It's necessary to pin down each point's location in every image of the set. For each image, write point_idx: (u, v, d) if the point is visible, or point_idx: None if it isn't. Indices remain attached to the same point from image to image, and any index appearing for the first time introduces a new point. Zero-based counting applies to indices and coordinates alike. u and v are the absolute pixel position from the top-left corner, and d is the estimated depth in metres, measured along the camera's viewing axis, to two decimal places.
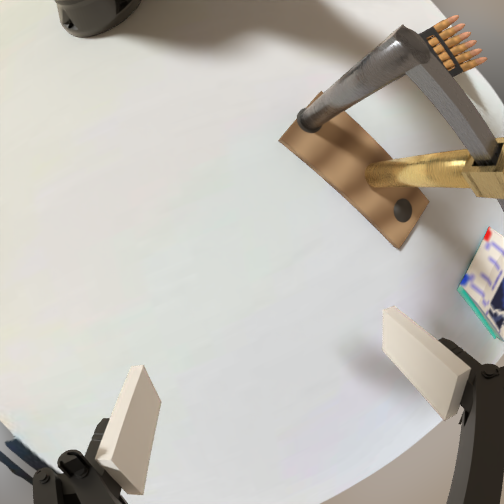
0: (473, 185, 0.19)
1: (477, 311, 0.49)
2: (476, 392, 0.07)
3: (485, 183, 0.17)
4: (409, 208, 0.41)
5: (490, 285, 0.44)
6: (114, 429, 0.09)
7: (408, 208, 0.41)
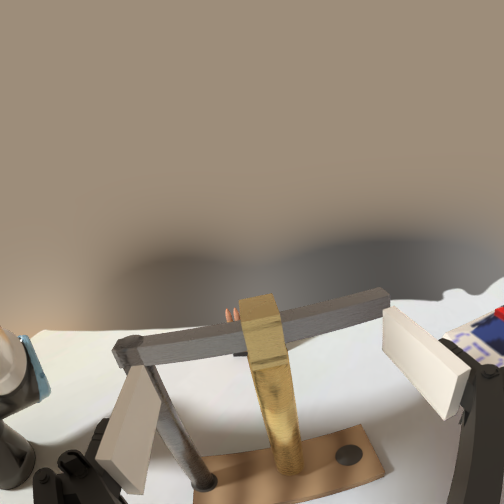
0: (270, 362, 0.23)
1: None
2: (476, 392, 0.07)
3: (262, 346, 0.22)
4: (351, 447, 0.32)
5: (483, 358, 0.35)
6: (114, 429, 0.09)
7: (350, 448, 0.32)
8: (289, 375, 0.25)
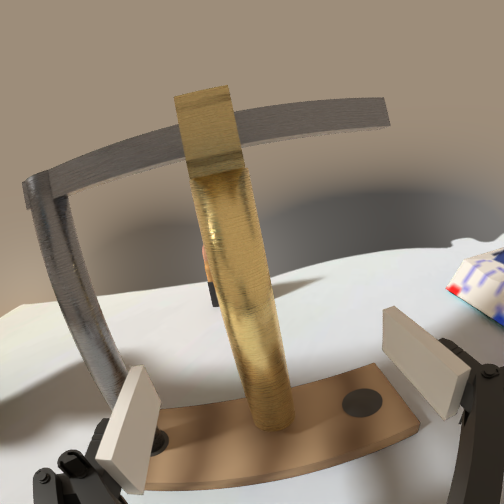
0: (216, 163, 0.15)
1: None
2: (476, 392, 0.07)
3: (204, 134, 0.15)
4: (365, 392, 0.24)
5: None
6: (114, 429, 0.09)
7: (364, 394, 0.24)
8: (253, 207, 0.17)
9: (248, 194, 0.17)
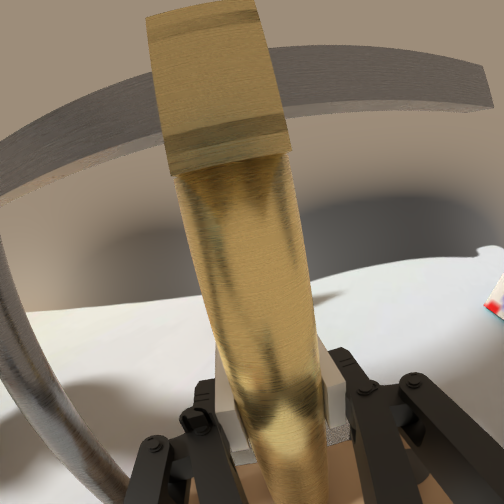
0: (229, 140, 0.07)
1: None
2: (355, 412, 0.08)
3: (203, 80, 0.06)
4: (410, 453, 0.15)
5: None
6: (225, 384, 0.11)
7: (409, 456, 0.15)
8: (299, 234, 0.09)
9: (292, 208, 0.08)
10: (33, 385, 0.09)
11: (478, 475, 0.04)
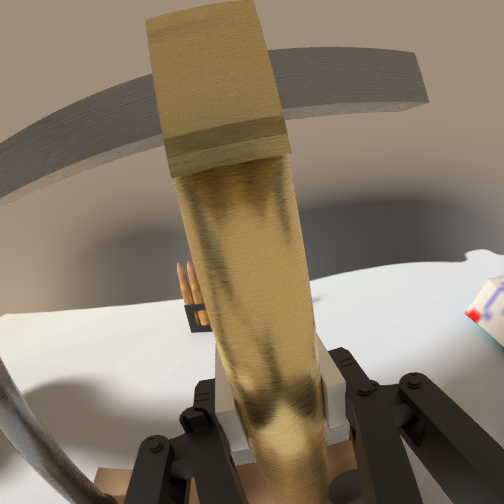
0: (229, 142, 0.07)
1: None
2: (355, 412, 0.08)
3: (204, 82, 0.06)
4: None
5: None
6: (225, 384, 0.11)
7: (358, 477, 0.15)
8: (299, 235, 0.09)
9: (291, 209, 0.08)
10: None
11: (477, 475, 0.04)
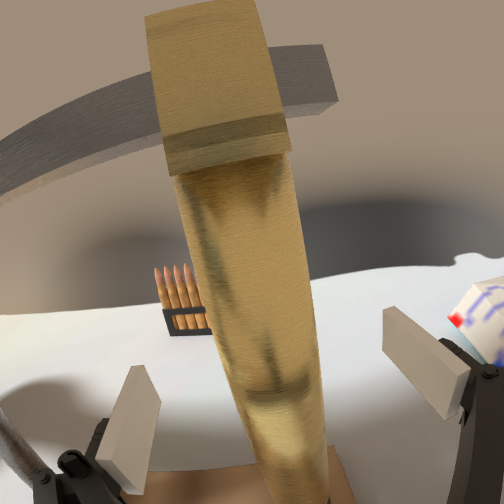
0: (228, 140, 0.07)
1: None
2: (476, 392, 0.07)
3: (203, 80, 0.06)
4: None
5: None
6: (114, 429, 0.09)
7: None
8: (299, 234, 0.09)
9: (292, 208, 0.08)
10: None
11: None
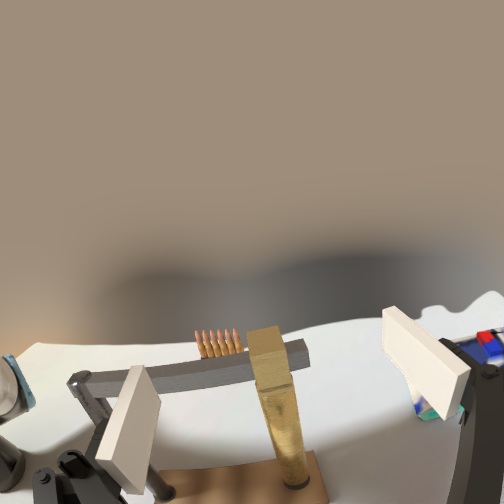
0: (276, 390, 0.24)
1: None
2: (476, 392, 0.07)
3: (269, 377, 0.23)
4: None
5: None
6: (114, 429, 0.09)
7: None
8: (294, 399, 0.26)
9: (292, 394, 0.25)
10: None
11: None
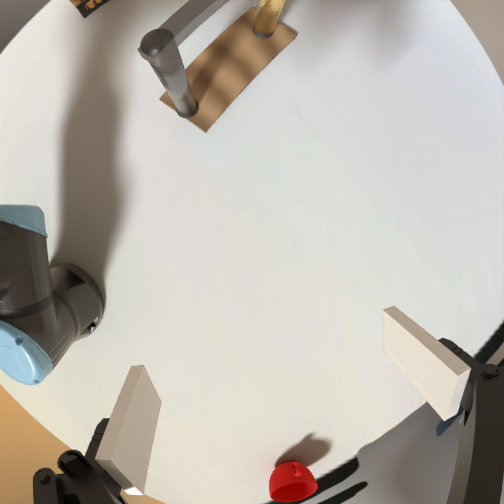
0: None
1: None
2: (476, 392, 0.07)
3: None
4: None
5: None
6: (114, 429, 0.09)
7: None
8: None
9: None
10: None
11: None
